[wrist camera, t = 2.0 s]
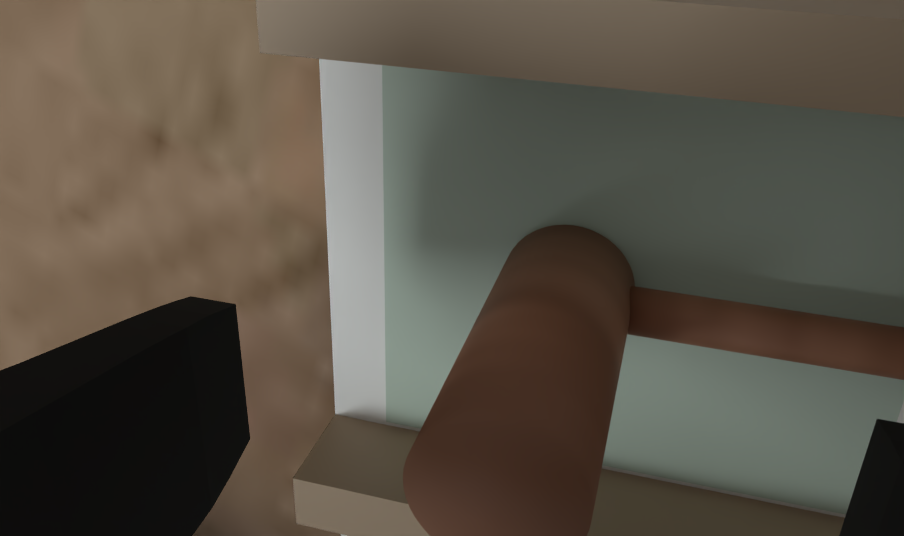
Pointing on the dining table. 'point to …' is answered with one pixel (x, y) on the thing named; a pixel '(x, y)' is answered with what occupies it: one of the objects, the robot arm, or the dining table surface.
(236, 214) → the dining table surface
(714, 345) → the wooden mallet
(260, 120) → the dining table surface
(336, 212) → the wooden frame
